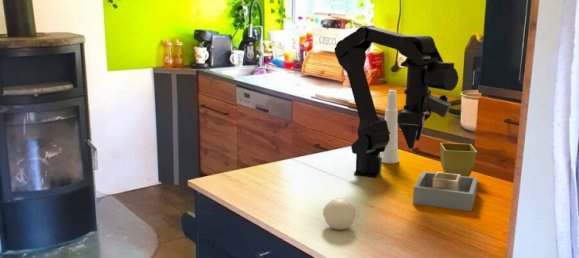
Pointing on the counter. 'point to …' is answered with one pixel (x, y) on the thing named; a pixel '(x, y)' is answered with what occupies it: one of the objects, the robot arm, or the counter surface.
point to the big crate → (445, 193)
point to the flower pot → (457, 158)
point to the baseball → (339, 213)
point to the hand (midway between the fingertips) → (414, 144)
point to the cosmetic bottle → (391, 130)
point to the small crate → (446, 181)
